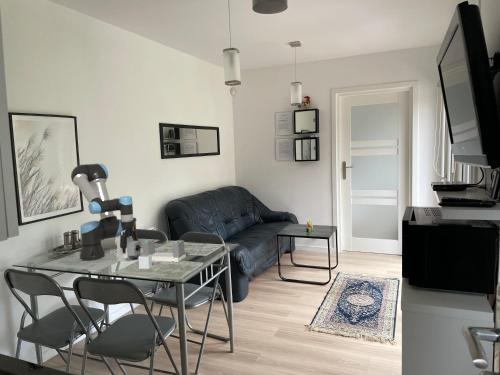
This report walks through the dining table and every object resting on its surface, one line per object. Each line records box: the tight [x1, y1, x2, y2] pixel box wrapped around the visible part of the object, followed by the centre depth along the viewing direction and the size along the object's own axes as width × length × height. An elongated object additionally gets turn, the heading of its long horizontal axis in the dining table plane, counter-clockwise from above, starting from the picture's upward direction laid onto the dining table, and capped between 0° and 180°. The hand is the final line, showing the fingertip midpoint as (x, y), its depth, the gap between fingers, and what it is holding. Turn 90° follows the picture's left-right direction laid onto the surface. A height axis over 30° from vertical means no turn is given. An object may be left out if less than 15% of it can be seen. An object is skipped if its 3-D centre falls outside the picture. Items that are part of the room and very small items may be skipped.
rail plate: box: [141, 238, 187, 263], centre depth 242 cm, size 25×11×12 cm, turn 74°
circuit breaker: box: [114, 236, 142, 262], centre depth 242 cm, size 8×14×15 cm, turn 79°
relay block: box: [138, 253, 153, 270], centre depth 225 cm, size 6×5×8 cm
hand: (129, 255), depth 243 cm, fingers open, 9 cm apart
